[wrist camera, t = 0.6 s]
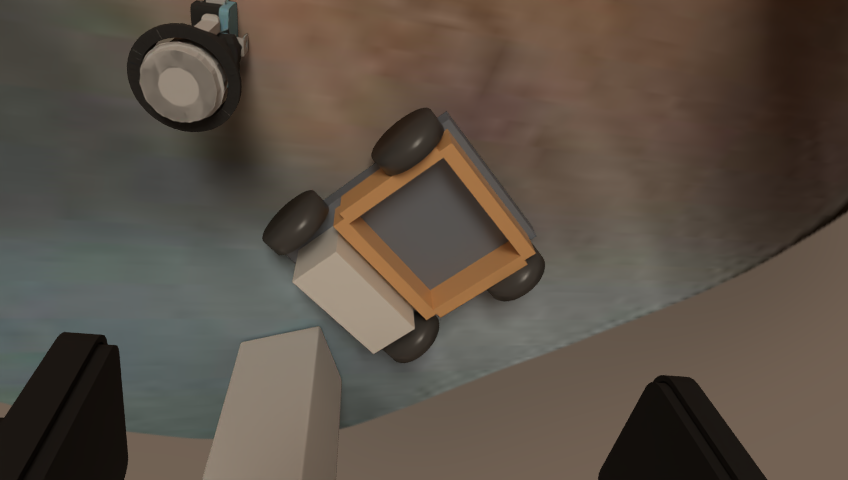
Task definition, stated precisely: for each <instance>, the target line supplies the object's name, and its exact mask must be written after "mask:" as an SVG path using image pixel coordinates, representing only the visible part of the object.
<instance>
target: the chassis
mask: <svg viewBox="0 0 848 480" xmlns="http://www.w3.org/2000/svg"><path fill="white" fill-rule="evenodd" d="M371 156H372V159H373V160H374V161H375V162H376V163H374V164H373V165H372V166H370V167H369V168H368V169H366V170H365V171H363V172H362V173H361V174H359V175H358V176H357V177H355V178H354V179H352V180H351V181H350V182H348V183H347V184H346V185H344V186H343V187H341V188H340V189H339V190H337V191H336V192H334V193H333V194H332V195H330V196H329V197H328V198H326V199H325V200H322V199H321V198H320V197H319V196H318V195H317V193H316V192H315V191H313V190H309V191H306V192H303V193H301V194H300V195H298V196H296V197H295V198H294V199H292V200H291V201H290V202H288V203H287V204H286V205H285V206H284V207H283V208H282V209H281V210H280V211H279V212H278V213H277V214H276V215H275V216H274V217H273V219H272V220H271V221H270V223H269V224H268V226H267V227H266V229H265V231H264V233H263V237H262V239H263V241H264V242H265V243H266V244H267V245H268V246H269V247H270V248H271V249H272V250H274V251H275V252H276V253H277V254H278V255H287V256H288V257H289V258H290V259H291V260H292V261H294V262H295V263H296V266H295V271H294V276H293V281H292V282H293V283H294V284H295V285H296V286H298V287H299V288H300V289H301V290H302V291H303V292H304V293H305V294H307V295H308V296H309V297H310V298H311V299H312V300H313V301H314V302H316V303H317V304H318V305H319V306H320V307H321V308H322V309H323V310H325V311H326V312H327V313H328V314H329V315H330V316H331V317H332V318H334V319H335V320H336V321H337V322H338V323H339V324H340V325H341V326H343V327H344V328H345V329H346V330H347V331H348V332H349V333H350V334H352V335H353V336H354V337H355V338H356V339H357V340H358V341H360V342H361V343H362V344H363V345H364V346H365V347H366V348H367V349H369V350H370V351H371V352H372V353H373V354H374V353H376V352H378V351H379V350H381V349H383V350H384V351H385V352H386V353H387V354H388V355H390V356H391V357H392V358H393V359H394V360H395V361H397V362H399V363H407V362H411V361H413V360H415V359H417V358H419V357H420V356H421V355H423V354H424V353H425V352H426V351H427V350H428V349H429V348H430V346H431V345H432V344H433V342H434V341H435V339H436V337H437V334H438V331H439V320H438V318H437V317H436V314H437V315H438V316H439V317H440V318H441V317H442V316H444V315H446V314H447V313H449V312H450V311H452V310H454V309H455V308H457V307H459V306H460V305H462V304H464V303H465V302H467V301H469V300H470V299H472V298H474V297H475V296H477V295H478V294H480V293H482V292H483V291H485V290H487V291H488V292H489V293H490V294H491V295H492V296H493V297H494V298H495V299H497V300H500V301H510V300H514V299H517V298H519V297H521V296H523V295H525V294H526V293H528V292H529V291H530V290H532V289H533V288H534V287H535V286H536V284H537V283H538V282H539V281H540V279H541V277H542V275H543V273H544V269H545V261H544V259H543V257H542V256H541V254H540V253H539V252H538V250H537V249H536V248H535V246H534V245H533V244H532V243H531V241H530V240H531V239H533V238H534V237H536V234H535V232H534V230H533V227H532V226H531V224H530V223H529V222H528V220H527V219H526V218H525V216H524V215H523V213H522V212H521V211H520V209H519V208H518V207H517V205H516V204H515V203H514V201H513V200H512V199H511V197H510V196H509V195H508V193H507V192H506V191H505V189H504V188H503V187H502V185H501V184H500V182H499V181H498V180H497V178H496V177H495V176H494V174H493V173H492V172H491V170H490V169H489V168H488V166H487V165H486V164H485V162H484V161H483V160H482V158H481V157H480V156H479V154H478V153H477V152H476V150H475V149H474V147H473V146H472V145H471V143H470V142H469V141H468V139H467V138H466V137H465V135H464V134H463V133H462V131H461V130H460V129H459V127H458V126H457V125H456V123H455V122H454V121H453V119H452V118H451V116H450V115H449V114H448V112H447V111H446V112H445V113H443V114H442V115H441V116H439V117H438V118H437V117H436V116H435V115H434V113H433V112H432V111H431V109H429V108H422V109H418V110H416V111H414V112H412V113H410V114H408V115H406V116H405V117H403V118H402V119H400V120H399V121H398V122H396V123H395V124H394V125H393V126H392V127H390V128H389V129H388V130H387V131H386V132H385V133H384V134H383V135H382V137H381V138H380V139H379V140H378V142H377V143H376V145H375V146H374V148H373V150H372V155H371Z"/></svg>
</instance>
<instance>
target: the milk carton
mask: <svg viewBox="0 0 848 480" xmlns="http://www.w3.org/2000/svg"><path fill="white" fill-rule="evenodd" d="M341 386H342V380H341V377H340V374H339V372H338V369H337V367H336V365H335V362H334V360H333V357H332V355H331V352H330V350H329V347H328V345H327V342H326V340H325V337H324V335H323V332H322V330H321V328H320V327H319V326H317V327H313V328H308V329H303V330H298V331H293V332H288V333H283V334H279V335H274V336H269V337H264V338H259V339H255V340H250V341H245V342H242V343H241V345H240V348H239V352H238V355H237V359H236V362H235V366H234V369H233V373H232V376H231V380H230V383H229V387H228V391H227V394H226V398H225V401H224V405H223V408H222V412H221V415H220V419H219V422H218V426H217V429H216V433H215V436H214V440H213V444H212V447H211V451H210V454H209V458H208V461H207V465H206V468H205V472H204V475H203V479H202V480H336V470H337V454H338V453H337V452H338V436H339V420H340V403H341Z"/></svg>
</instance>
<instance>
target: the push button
mask: <svg viewBox="0 0 848 480" xmlns="http://www.w3.org/2000/svg"><path fill="white" fill-rule="evenodd" d="M191 23H192V26H191V25H187V24H184V23H180V24H179V23H170V24H163V25H159V26H157V27H154V28H152V29H150V30H148V31H147V32H145V33H144V34H143V35H141V36H140V37H139V38H138V39H137V41H136V42H135V43H134V45H133V47H132V48H131V51H130V53H129V57H128V62H127V74H128V80H129V83H130V86H131V89H132V91H133V93H134V95H135V97H136V99H137V100H138V102H139V103H140V104H141V106H142V107H143V108H144V109H145V110H146V111H147V112H148V113H149V114H150V115H151V116H152V117H154V118H155V119H157V120H158V121H160V122H161V123H163V124H165V125H167V126H169V127H172V128H174V129H178V130H182V131H187V132H202V131H207V130H211V129H214V128H216V127H218V126H220V125H221V124H223V123H224V122H225V121H227V120H228V119H229V118H230V116H231V115H232V114H233V112H234V111H235V109H236V107H237V105H238V103H239V100H240V96H241V77H240V73H239V62H240V59H241V56H244V55H245V54H246V53H247V52H248V33H246V34H245V36H244V37H243V38H239V37H238V21H237V3H236V2H231V1H229V0H204V1H198V0H196V1H195V2H193V3H192V4H191ZM167 38H174V39H173V40H172V41H170V42H169V43H162V44H159V45H157V46H156V47H154V46H155V45H156V43H157V42H158V41H160V40H163V39H167ZM226 88H228V94H227V98H226V101H225V102H224V103H223V104H222V105H221V103H222V99H223V95H224V93H225V91H226Z"/></svg>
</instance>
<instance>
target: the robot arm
mask: <svg viewBox="0 0 848 480" xmlns="http://www.w3.org/2000/svg"><path fill="white" fill-rule="evenodd" d="M127 465H128V450H127V438H126V426H125V414H124V403H123V391H122V380H121V368H120V356H119V349H118V346H116V345H108V344H107V339H106V337H105V336H104V335H97V334H83V333H69V332H63V333H61V334H60V335H59V336H58V337H57V339H56V340H55V342H54V343H53V345H52V346H51V348H50V349H49V351H48V352H47V354H46V355H45V357H44V358H43V360H42V361H41V363H40V364H39V366H38V367H37V369H36V370H35V372H34V373H33V375H32V376H31V378H30V379H29V381H28V382H27V384H26V386H25V387H24V389H23V390H22V392H21V393H20V395H19V396H18V398H17V399H16V401H15V402H14V404H13V405H12V407H11V408H10V410H9V411H8V413H7V414H6V416H5V417H4V418H0V480H124V478H125V474H126V470H127ZM598 480H767V479H766V477H765V476H764V474H763V473H762V472H761V470H760V469H759V468H758V466H757V465H756V464H755V462H754V461H753V459H752V458H751V457H750V455H749V454H748V453H747V451H746V450H745V448H744V447H743V446H742V444H741V443H740V441H739V440H738V439H737V437H736V436H735V435H734V433H733V432H732V430H731V429H730V428H729V426H728V425H727V424H726V422H725V421H724V419H723V418H722V417H721V415H720V414H719V412H718V411H717V410H716V408H715V407H714V406H713V404H712V403H711V401H710V400H709V399H708V397H707V396H706V395H705V393H704V392H703V390H702V389H701V388H700V386H699V385H698V384H697V383H696V382H695V381H694V380H693V379H691V378H690V377H680V376H665V375H661V376H658V377H657V378H655V380H654V381H653V382H651V383H649V384H648V385H647V386H646V388H645V390H644V391H643V393H642V395H641V397H640V399H639V400H638V402H637V404H636V406H635V408H634V410H633V412H632V413H631V415H630V417H629V419H628V421H627V422H626V424H625V426H624V428H623V430H622V431H621V433H620V435H619V437H618V439H617V441H616V443H615V444H614V446H613V448H612V450H611V452H610V453H609V455H608V457H607V459H606V461H605V463H604V464H603V466H602V468H601V470H600V472H599V477H598Z"/></svg>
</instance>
